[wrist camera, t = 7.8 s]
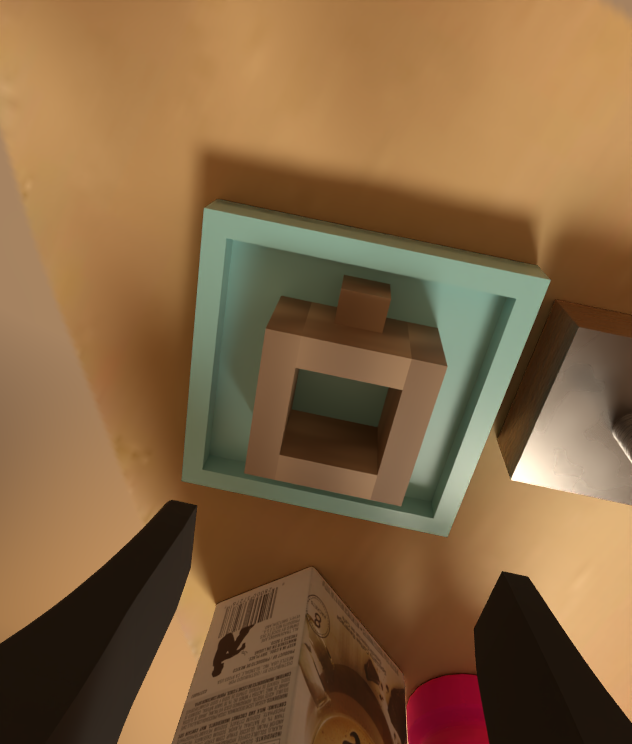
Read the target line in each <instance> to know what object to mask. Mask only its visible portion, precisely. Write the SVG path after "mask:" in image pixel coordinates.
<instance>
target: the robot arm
mask: <svg viewBox="0 0 632 744" xmlns="http://www.w3.org/2000/svg"><path fill="white" fill-rule="evenodd" d="M196 512H197V505H193V504H188V503H184V502H179V501H175V500H171V501H169V502H167V503H166V504H165V505H164V506H163V507H162V508H161V510H160V511H159V512H158V513H157V514H156V515H155V516H154V517H153V518H152V519H151V520H150V521H149V522H148V523H147V524H146V526H145V527H144V528H143V529H142V530H141V531H140V532H139V533H138V534H137V535H136V536H135V537H134V538H133V539H132V540H131V541H130V542H129V543H127V544H126V545H125V546H124V547H123V548H122V549H121V550H120V551H119V552H118V553H117V554H116V555H115V556H113V557H112V558H111V559H110V560H109V561H108V562H107V563H106V564H105V565H104V566H102V567H101V568H100V569H99V570H98V571H97V572H95V573H94V574H93V575H92V576H91V577H90V578H88V579H87V580H86V581H85V582H84V583H82V584H81V585H80V586H79V587H78V588H76V589H75V590H74V591H73V592H72V593H70V594H69V595H68V596H67V597H65V598H64V599H63V600H61V601H60V602H59V603H58V604H56V605H55V606H53V607H52V608H51V609H50V610H48V611H47V612H45V613H44V614H43V615H41V616H40V617H38V618H37V619H36V620H34V621H33V622H32V623H30V624H29V625H27V626H26V627H25V628H23V629H22V630H20V631H18V632H17V633H15V634H14V635H12V636H11V637H9V638H8V639H6V640H5V641H4V642H2V643H0V744H117V742H118V739H119V736H120V734H121V731H122V728H123V726H124V723H125V721H126V718H127V716H128V714H129V711H130V709H131V706H132V704H133V702H134V700H135V698H136V695H137V693H138V691H139V689H140V687H141V685H142V683H143V681H144V678H145V676H146V674H147V672H148V670H149V668H150V666H151V663H152V661H153V659H154V657H155V655H156V653H157V650H158V648H159V646H160V644H161V642H162V640H163V638H164V635H165V633H166V631H167V629H168V627H169V624H170V622H171V620H172V618H173V616H174V614H175V611H176V609H177V606H178V603H179V600H180V597H181V595H182V592H183V589H184V586H185V583H186V580H187V577H188V574H189V571H190V568H191V559H192V550H193V540H194V531H195V521H196ZM474 640H475V657H476V670H477V679H478V685H479V690H480V696H481V701H482V707H483V712H484V718H485V723H486V728H487V734H488V739H489V744H632V723H631V721H630V720H629V719H628V718H627V716H626V715H625V714H624V712H623V711H622V710H621V709H620V707H619V706H618V705H617V703H616V702H615V701H614V699H613V698H612V697H611V696H610V694H609V693H608V692H607V690H606V689H605V688H604V686H603V685H602V684H601V682H600V681H599V680H598V678H597V677H596V676H595V674H594V673H593V671H592V670H591V669H590V667H589V666H588V664H587V663H586V662H585V660H584V659H583V657H582V656H581V654H580V653H579V652H578V650H577V649H576V647H575V646H574V644H573V643H572V641H571V640H570V639H569V637H568V636H567V634H566V633H565V631H564V630H563V628H562V627H561V625H560V624H559V622H558V621H557V619H556V618H555V616H554V615H553V613H552V612H551V610H550V609H549V607H548V606H547V604H546V603H545V601H544V600H543V598H542V597H541V595H540V594H539V592H538V590H537V589H536V588H535V586H534V585H533V583H532V582H531V580H530V579H529V577H527V576H522V575H518V574H513V573H509V572H504V571H502V572H501V574H500V577H499V579H498V581H497V583H496V585H495V587H494V589H493V591H492V593H491V595H490V597H489V599H488V601H487V603H486V605H485V607H484V609H483V611H482V613H481V615H480V617H479V619H478V622H477V624H476V626H475V628H474Z"/></svg>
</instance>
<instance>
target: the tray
mask: <svg viewBox="0 0 632 744" xmlns="http://www.w3.org/2000/svg"><path fill="white" fill-rule="evenodd" d="M344 275H348V276H353V277H358V278H363V279H368V280H372V281H377V282H382V283H387V284H390V289H391V301H390V305H389V309H388V313H387V318H392V319H396V320H401V321H406V322H411V323H416V324H421V325H425V326H430V327H435V328H438V330H439V334H440V338H441V342H442V346H443V350H444V354H445V358H446V362H447V366H448V367H447V370H446V373H445V376H444V379H443V382H442V385H441V388H440V391H439V394H438V397H437V400H436V403H435V406H434V409H433V412H432V415H431V418H430V421H429V424H428V427H427V430H426V433H425V436H424V439H423V442H422V445H421V448H420V451H419V454H418V457H417V460H416V463H415V466H414V469H413V472H412V475H411V478H410V481H409V484H408V487H407V490H406V493H405V496H404V499H403V502H402V505H401V506H397V505H392V504H387V503H382V502H378V501H373V500H368V499H363V498H359V497H354V496H349V495H344V494H340V493H335V492H330V491H325V490H321V489H316V488H311V487H306V486H301V485H297V484H292V483H287V482H282V481H278V480H273V479H268V478H263V477H259V476H254V475H249V474H244V470H245V463H246V457H247V450H248V443H249V436H250V430H251V423H252V416H253V409H254V403H255V396H256V389H257V383H258V376H259V369H260V362H261V356H262V349H263V342H264V335H265V329H266V326H267V324H268V322H269V320H270V318H271V316H272V314H273V312H274V310H275V308H276V305H277V303H278V301H279V299H280V297H281V296H286V297H290V298H295V299H300V300H305V301H310V302H314V303H319V304H324V305H329V306H334V307H337V305H338V301H339V296H340V291H341V287H342V282H343V277H344ZM550 281H551V280H550V279H549V277H548V276H547V275H546V274H545V273H544V272H543V271H542V270H541V269H540V268H539V267H538V265H533V264H528V263H523V262H518V261H514V260H509V259H504V258H499V257H494V256H490V255H485V254H480V253H475V252H470V251H466V250H461V249H456V248H451V247H446V246H442V245H437V244H432V243H427V242H422V241H418V240H413V239H408V238H403V237H398V236H393V235H389V234H384V233H379V232H374V231H369V230H365V229H360V228H355V227H350V226H345V225H341V224H336V223H331V222H326V221H321V220H317V219H312V218H307V217H302V216H297V215H293V214H288V213H283V212H278V211H273V210H269V209H264V208H259V207H254V206H249V205H245V204H240V203H235V202H230V201H225V200H221V199H216V200H215V201H213V202H212V203H210V204H209V205H207V206H206V207H204V214H203V226H202V238H201V250H200V262H199V274H198V286H197V298H196V311H195V323H194V335H193V347H192V359H191V371H190V383H189V395H188V407H187V420H186V432H185V444H184V456H183V468H182V480H181V481H183V482H188V483H193V484H198V485H202V486H207V487H212V488H217V489H221V490H226V491H231V492H235V493H240V494H245V495H250V496H254V497H259V498H264V499H269V500H273V501H278V502H283V503H287V504H292V505H297V506H302V507H306V508H311V509H316V510H321V511H325V512H330V513H335V514H339V515H344V516H349V517H354V518H358V519H363V520H368V521H372V522H377V523H382V524H387V525H391V526H396V527H401V528H406V529H410V530H415V531H420V532H424V533H429V534H434V535H439V536H443V537H448V535H449V532H450V530H451V527H452V525H453V522H454V520H455V517H456V515H457V512H458V510H459V507H460V505H461V502H462V500H463V498H464V495H465V493H466V490H467V488H468V485H469V483H470V480H471V478H472V475H473V473H474V470H475V468H476V465H477V463H478V460H479V458H480V455H481V453H482V450H483V448H484V445H485V443H486V440H487V438H488V435H489V433H490V430H491V428H492V425H493V423H494V420H495V418H496V415H497V413H498V410H499V408H500V405H501V403H502V400H503V398H504V395H505V393H506V390H507V388H508V386H509V383H510V381H511V378H512V376H513V373H514V371H515V368H516V366H517V363H518V361H519V358H520V356H521V353H522V351H523V348H524V346H525V343H526V341H527V338H528V336H529V333H530V331H531V328H532V326H533V323H534V321H535V318H536V316H537V313H538V311H539V308H540V306H541V303H542V301H543V298H544V296H545V293H546V291H547V288H548V286H549V283H550ZM388 388H389V387H385V386H380V385H376V384H371V383H366V382H361V381H356V380H352V379H347V378H342V377H337V376H332V375H328V374H323V373H318V372H313V371H308V370H304V369H299V374H298V379H297V384H296V390H295V395H294V400H293V406H292V409H293V410H298V411H302V412H307V413H312V414H317V415H321V416H326V417H331V418H336V419H341V420H345V421H350V422H355V423H360V424H365V425H369V426H374V427H378V424H379V420H380V417H381V413H382V410H383V406H384V403H385V399H386V395H387V392H388Z"/></svg>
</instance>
